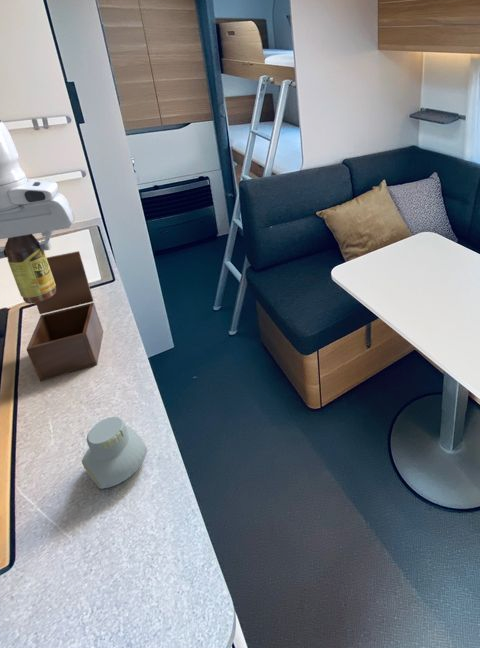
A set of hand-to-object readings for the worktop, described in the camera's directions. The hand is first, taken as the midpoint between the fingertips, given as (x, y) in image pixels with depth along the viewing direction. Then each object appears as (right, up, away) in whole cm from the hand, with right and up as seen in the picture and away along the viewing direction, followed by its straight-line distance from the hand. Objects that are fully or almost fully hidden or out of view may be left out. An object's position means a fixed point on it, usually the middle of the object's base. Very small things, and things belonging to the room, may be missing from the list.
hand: (25, 253), depth 88 cm
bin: (-2, -29, +17) cm, 33 cm away
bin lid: (-5, -10, +16) cm, 20 cm away
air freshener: (+27, -40, -10) cm, 49 cm away
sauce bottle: (0, -11, +4) cm, 11 cm away
